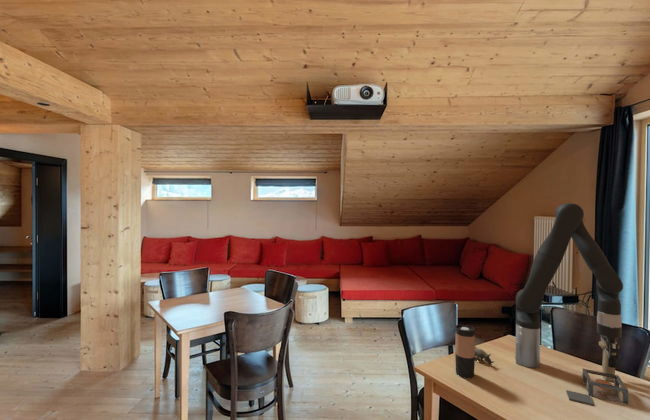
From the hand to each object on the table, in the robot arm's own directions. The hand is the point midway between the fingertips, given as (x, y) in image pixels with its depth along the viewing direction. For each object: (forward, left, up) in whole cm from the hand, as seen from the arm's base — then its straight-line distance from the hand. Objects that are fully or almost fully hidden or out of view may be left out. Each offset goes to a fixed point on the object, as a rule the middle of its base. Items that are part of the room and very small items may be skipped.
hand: (608, 362), depth 129 cm
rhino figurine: (-47, -9, -7) cm, 49 cm away
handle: (0, 0, -7) cm, 7 cm away
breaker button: (-4, -12, -5) cm, 14 cm away
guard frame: (-4, -12, -7) cm, 15 cm away
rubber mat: (-13, -21, -7) cm, 26 cm away
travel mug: (-52, -24, -7) cm, 58 cm away
